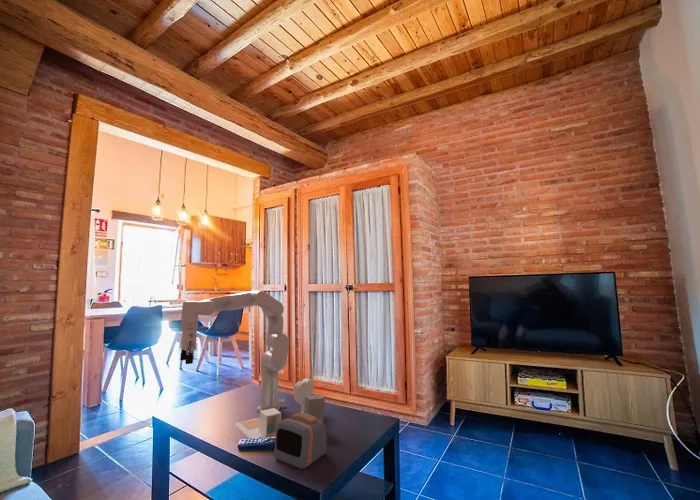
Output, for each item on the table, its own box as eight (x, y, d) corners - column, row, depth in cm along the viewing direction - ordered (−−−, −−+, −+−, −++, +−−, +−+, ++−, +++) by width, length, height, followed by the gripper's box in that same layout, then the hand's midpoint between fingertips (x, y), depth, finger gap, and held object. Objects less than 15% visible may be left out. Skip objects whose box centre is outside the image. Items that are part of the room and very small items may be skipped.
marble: (271, 430, 155) (271, 423, 155) (273, 432, 152) (274, 425, 153) (265, 431, 153) (265, 425, 153) (267, 434, 150) (268, 427, 151)
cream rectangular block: (273, 427, 158) (274, 407, 159) (280, 432, 152) (281, 412, 153) (258, 431, 153) (259, 411, 154) (265, 437, 147) (266, 416, 148)
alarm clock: (271, 459, 130) (273, 417, 131) (298, 443, 143) (299, 405, 145) (303, 472, 121) (304, 427, 123) (328, 454, 135) (329, 413, 137)
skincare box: (307, 435, 151) (309, 400, 153) (302, 429, 157) (303, 395, 159) (324, 432, 155) (325, 397, 157) (318, 426, 161) (320, 393, 163)
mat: (264, 417, 171) (264, 416, 171) (288, 435, 151) (288, 433, 151) (233, 424, 161) (233, 423, 161) (254, 445, 141) (255, 443, 141)
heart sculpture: (306, 409, 183) (307, 376, 185) (314, 411, 181) (315, 377, 183) (290, 419, 169) (292, 383, 171) (298, 421, 167) (300, 384, 169)
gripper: (202, 327, 156) (199, 364, 154) (192, 323, 170) (190, 357, 168) (185, 328, 152) (182, 366, 150) (176, 324, 165) (173, 359, 163)
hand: (186, 361), depth 159 cm, fingers open, 9 cm apart
